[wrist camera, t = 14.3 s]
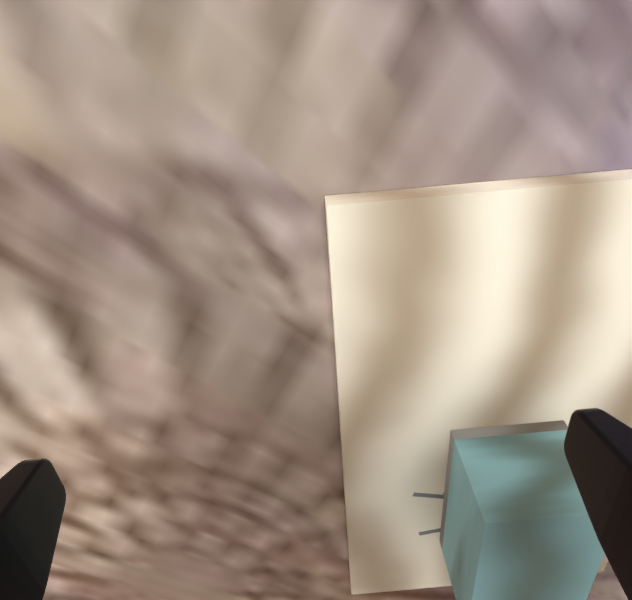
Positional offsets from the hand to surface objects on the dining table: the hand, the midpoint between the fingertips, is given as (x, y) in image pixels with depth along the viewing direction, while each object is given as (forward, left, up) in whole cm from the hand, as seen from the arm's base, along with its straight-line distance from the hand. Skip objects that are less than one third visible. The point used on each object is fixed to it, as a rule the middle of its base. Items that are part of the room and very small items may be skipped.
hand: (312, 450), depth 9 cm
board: (-9, +13, -12) cm, 20 cm away
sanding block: (-9, +16, -11) cm, 22 cm away
